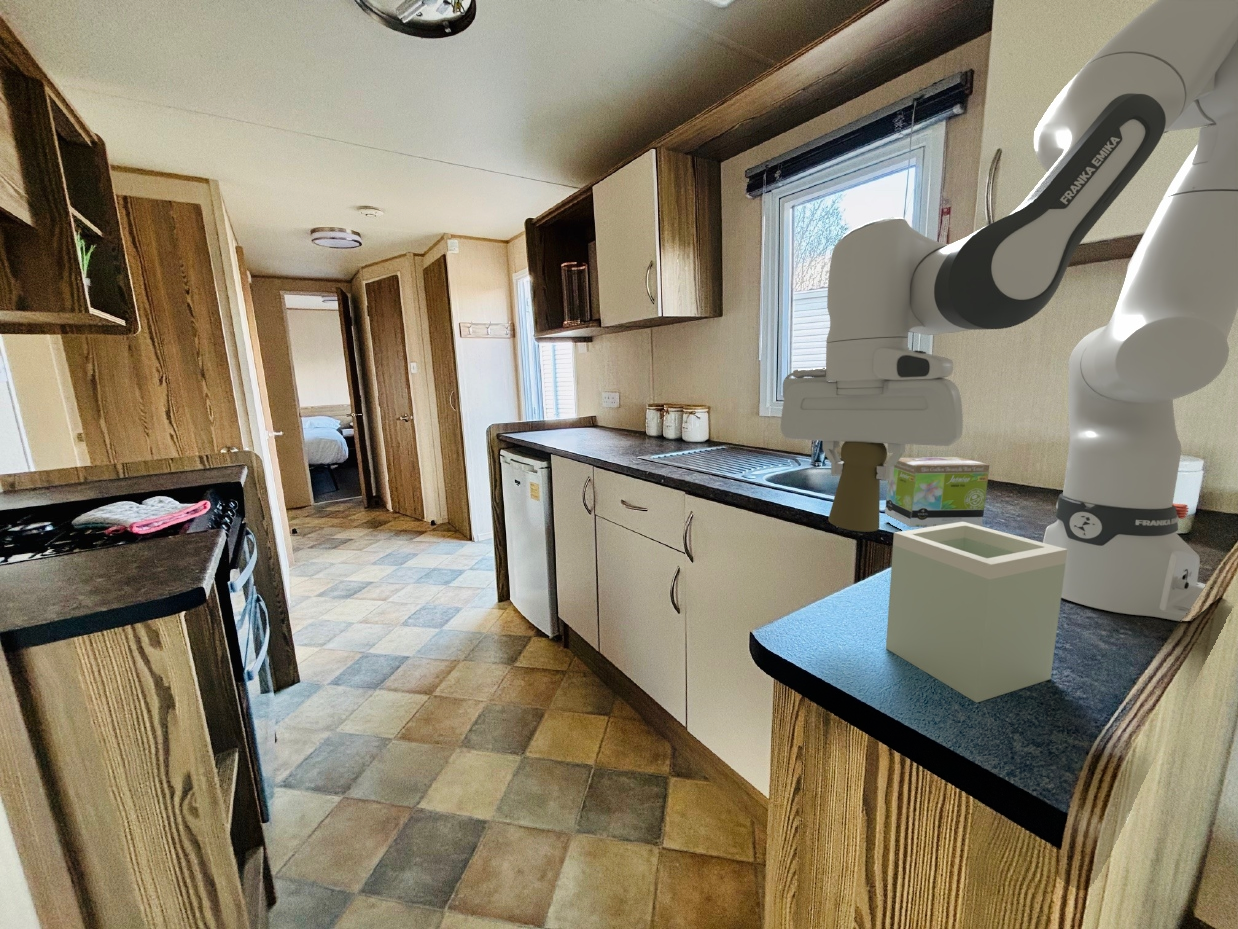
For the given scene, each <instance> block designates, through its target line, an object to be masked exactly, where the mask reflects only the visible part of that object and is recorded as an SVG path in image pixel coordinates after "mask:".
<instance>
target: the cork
mask: <svg viewBox="0 0 1238 929" xmlns="http://www.w3.org/2000/svg"><path fill="white" fill-rule="evenodd" d="M840 448H841V449H840V459H841V461H843V462H844V466H843V470H842V474H841V477H840V476H839V481H838V484H837V487H836V491H835V494H834V498H833V502H832V505H831V508H830V512H829V515H828V522H829V523H830V524H832V525H833V526H834V527H838V528H841V529H843V530H844V529H845V530H849V531H855V532H863V533H864V532H865V533H866V532H867V533H869V532H876V531H878V530H879V529H880V498H881V497H880V496H881V495H880V482H881V480H877V478H876V475H877V474H878V473H877V466H881V465H883V464H886V463H885V462H886V460H887V458H888V457H887V456H888V448H887V447H886V445H885V443H866V442H843V443H842V446H841V447H840Z"/></svg>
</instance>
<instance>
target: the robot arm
mask: <svg viewBox="0 0 1238 929" xmlns="http://www.w3.org/2000/svg"><path fill="white" fill-rule="evenodd" d="M1197 128H1199V130H1198V131H1199V133H1198V141H1197V143H1196V146H1195V147H1194V148H1193V149H1192V151H1191V152H1190V153H1189V155H1188V156H1187V158H1186V159H1185V160H1184V162H1183V163H1182V165H1181V166H1180V168H1179V170H1178V171H1177V172H1176V174H1175V176H1174V178H1173V179H1172V181H1171V183H1170V184H1169V185H1168V188H1167V189H1166V191H1165V193H1164V195H1163V197H1162V199H1161V200H1160V203H1159V204H1158V206H1157V208H1156V211H1155V212H1154V214H1153V216H1152V218H1151V219H1150V221H1149V223H1148V225H1147V227H1146V229H1145V231H1144V233H1143V235H1142V237H1141V239H1140V241H1139V243H1138V244H1137V247H1136V249H1135V250H1134V252H1133V255H1132V257H1131V258H1130V261H1129V262H1128V265H1127V268H1126V276H1125V279H1124V283H1123V285H1122V289H1121V291H1120V294H1119V297H1118V300H1117V302H1116V306H1115V308H1114V311H1113V313H1112V316H1111V317H1110V319H1109V322H1108V323H1107V325H1104V326H1101V327H1098V328H1097V329H1094V330H1092V331H1091V332H1090V333H1088V334H1087V335H1085V336H1084V337H1083V338H1082V339H1081V340H1079V342H1078V343H1077V344H1076V346H1074V348H1073V350H1072V351H1071V354H1070V356H1069V359H1068V363H1067V365H1068V368H1067V369H1068V381H1067V382H1068V386H1067V388H1068V389H1067V392H1068V393H1067V405H1068V406H1067V408H1068V410H1067V412H1068V414H1067V415H1068V418H1067V419H1068V434H1069V436H1068V451H1067V459H1066V466H1065V475H1064V483H1063V490H1062V491H1063V492H1061V493H1060V494H1059V495H1058V500H1057V501H1056V505H1055V506H1056V511H1055V513H1056V514H1055V517H1056V518H1057V520H1056V521H1055V522H1054V523H1051V524H1049V525H1048V526H1047V527H1046V528H1045V533H1044V537H1043V540H1042V543H1046V544H1049V545H1053V546H1057V547H1061V548H1064V549H1068V550H1067V557H1066V565H1065V572H1064V580H1063V588H1062V595H1061V599H1063V600H1067V601H1071V602H1073V603H1076V604H1079V605H1084V606H1086V607H1090V608H1094V609H1098V610H1104V611H1108V612H1113V613H1118V614H1126V615H1135V616H1146V617H1155V618H1160V619H1167V620H1169V621H1170V620H1171V621H1176V622H1181V621H1180V620H1181V619H1182V618H1183V617H1184V616H1185V615H1186V613H1188V611H1189V610H1190V608H1191V607H1192V605H1193V604H1194V602H1195V601H1196V599H1197V597H1199V595H1200V593H1201V592H1202V591H1203V588H1204V587H1205V585H1206V584H1205V583H1202V582H1199V581H1198V578H1199V571H1200V570H1199V569H1200V563H1201V562H1200V561H1201V559H1200V555H1199V553H1197V552H1196V551H1195V550H1194V549H1193V548H1192V547H1191V546H1190V545H1189V544H1188V543H1187V542H1186V541H1184V539H1183V538H1182V537H1181V536H1179V534H1178V533H1176V532H1178V531H1179V525H1178V524H1179V523H1178V522H1179V520H1180V519H1182V520H1183V519H1186V518H1187V515H1188V514H1189V513H1188V512H1189V510H1190V509H1189V506H1188V504H1183V503H1182V504H1181V503H1173V502H1174V497H1175V492H1176V485H1177V480H1178V473H1179V467H1180V461H1181V456H1182V444H1181V441H1180V439H1179V437H1178V432H1177V426H1176V420H1175V411H1174V401H1173V400H1177V399H1179V398H1183V397H1186V396H1188V395H1190V394H1192V393H1195V392H1197V391H1199V390H1202V389H1203V388H1204V387H1206V386H1207V385H1209V384H1211V383H1212V382H1213V381H1214V380H1215V379H1217V378H1218V376H1219V375H1220V374H1221V373H1222V372H1223V370H1224V368H1225V366H1226V364H1227V362H1228V359H1229V354H1230V352H1229V351H1230V350H1229V349H1230V348H1229V343H1228V337H1229V334H1230V332H1231V329H1232V327H1233V323H1234V320H1235V317H1236V315H1237V312H1238V0H1156V1H1154V2H1153V3H1151V5H1148V7H1147V8H1146V9H1144V10H1143V11H1141V13H1139V14H1138V15H1136V16H1135V17H1134V18H1133V19H1132V20H1131V21H1129V23H1127V24H1126V25H1125V26H1124V27H1122V29H1120V30H1119V31H1118V32H1117V33H1116V34H1115V35H1114V36H1113V37H1112V38H1111V39H1109V40H1108V42H1106V43H1105V44H1104V45H1103V46H1102V47H1101V48H1100V49H1099V50H1098V51H1097V52H1096V53H1094V54H1093V56H1092V57H1091V58H1090V59H1089V60H1088V61H1087V62H1086V63H1085V64H1084V65H1083V67H1081V69H1079V71H1078V72H1077V73H1076V74H1075V76H1074V77H1073V78H1072V79H1071V80H1070V81H1069V82H1068V83H1067V84H1066V85H1065V86H1064V87H1063V89H1062V90H1061V91H1060V93H1059V94H1058V95H1057V96H1056V97H1055V98H1054V100H1053V102H1051V104H1050V106H1049V107H1048V108H1047V110H1046V112H1045V113H1044V115H1043V117H1042V118H1041V120H1040V121H1039V122H1038V125H1037V127H1036V128H1035V130H1034V135H1033V148H1034V149H1033V150H1034V153H1035V156H1036V158H1037V160H1038V162H1039V163H1040V166H1041V167H1042V168H1043V169H1044V170H1045V171H1046V174H1045V175H1044V176H1043V178H1041V180H1040V181H1039V182H1038V183H1037V185H1036V186H1035V187H1034V188H1033V190H1031V192H1030V193H1029V194H1028V196H1027V197H1025V198H1024V200H1023V202H1021V204H1020V205H1019V206H1018V207H1017V208H1016V209H1015V210H1013V211H1012V212H1011V213H1010V214H1008V215H1007V216H1004V217H1003V218H1000V219H998V220H995V221H994V222H991V223H990V224H988V225H986V226H983V227H982V228H981V229H978V230H976V231H974V232H973V233H971V234H969V235H968V236H966V237H964V238H962V239H960V240H957V241H955V242H953V243H950V244H948V243H947V244H946V243H943V242H939V241H937V240H934V239H932V238H930V237H927V236H925V235H924V234H921V233H920V232H918V231H917V230H916V229H914V228H913V227H912V226H910V224H909V223H908V221H907V220H906V219H905V218H904V217H893V216H892V217H885V218H881V219H877V220H873V221H870V222H867V223H865V224H863V225H860V226H857V227H855V228H854V229H852V230H850V231H848V232H847V233H846V234H844V235H843V236H842V237H841V238H840V239H838V241H837V242H836V243H835V245H834V247H833V248H832V249H833V250H832V254H831V257H830V263H829V264H830V265H829V269H828V270H829V271H828V282H827V301H826V303H827V304H826V306H827V312H828V315H829V322H830V323H829V330H828V333H827V337H826V340H825V341H826V346H825V348H826V351H825V367H818V368H810V369H803V368H799V369H794V370H793V371H792V372H790V373H789V374H787V375H786V376H785V378H784V379H783V380H782V381H783V382H782V397H783V404H782V409H781V410H782V411H781V418H780V432H781V434H782V435H783V437H784V439H786V440H799V441H800V440H802V441H804V440H805V441H822V451H823V452H824V454H825V456H826V458H827V460H828V461H829V463H830V464H831V465H830V475H831V476H832V477H839V478H840V477H841V474H842V470H843V466H844V462H843V461H842V459H841V456H839V454H838V452H837V450H836V449H838V448H839V447H840V442H843V443H844V442H866V443H883V444H887V454H891V455H890V457H889V459H888V460H887V462H886V463H884V464H883V465H881V466H877V473H878V474H877V475H876V478H877V480H880V481H885V482H888V481H891V480H893V477H894V465H895V464H896V463H897V462H898V460H899V459H900V458H902V456H903V455H904V454H905V452H906V445H914V446H917V445H918V446H935V447H937V446H938V447H949V446H951V445H954V444H955V443H957V442H958V441H959V440H960V439H961V438H962V435H963V426H964V424H963V421H964V420H963V405H962V398H961V392H960V390H959V387H958V386H957V384H956V383H955V382H954V381H952V380H951V379H949V378H948V377H949V376H951V375H952V374H953V371H954V362H953V360H952V359H950V358H949V357H945V356H940V355H934V354H930V353H927V351H923V350H911V349H910V348H909V347H908V346H909V333H915V334H919V335H925V336H937V335H944V334H955V333H960V332H967V331H972V330H973V331H977V330H1003V329H1008V328H1012V327H1015V326H1018V325H1020V324H1023V323H1025V322H1027V321H1028V320H1030V319H1031V318H1033V317H1034V316H1036V315H1037V314H1039V312H1041V311H1042V310H1043V309H1044V308H1045V307H1046V306H1047V304H1049V302H1050V301H1051V299H1052V298H1053V297H1054V295H1055V294H1056V292H1057V290H1058V288H1059V286H1060V285H1061V282H1062V279H1063V278H1064V276H1065V274H1066V272H1067V269H1068V266H1069V264H1070V262H1071V259H1072V258H1073V256H1074V254H1075V252H1076V250H1077V249H1078V247H1079V246H1080V244H1081V243H1082V241H1083V240H1084V238H1085V237H1086V236H1087V234H1088V233H1089V232H1090V231H1091V230H1092V229H1093V227H1095V224H1097V222H1098V221H1099V220H1100V219H1101V217H1102V216H1103V215H1104V213H1105V212H1106V211H1107V210H1108V209H1109V208H1110V207H1111V206H1112V203H1114V201H1115V200H1116V199H1117V198H1118V197H1119V195H1120V194H1121V193H1122V192H1123V191H1124V189H1125V188H1126V187H1127V185H1129V183H1130V182H1131V181H1132V180H1133V178H1134V177H1135V176H1136V174H1138V172H1139V170H1140V169H1141V168H1142V167H1143V166H1144V164H1145V163H1146V162H1147V160H1148V159H1149V158H1150V157H1151V155H1152V153H1153V152H1154V150H1155V149H1156V147H1157V146H1158V144H1159V143H1160V141H1161V139H1162V137H1163V135H1164V134H1165V133H1166V134H1167V133H1168V132H1170V131H1171V132H1172V131H1181V130H1191V129H1197Z"/></svg>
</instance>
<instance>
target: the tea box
mask: <svg viewBox="0 0 1238 929" xmlns="http://www.w3.org/2000/svg"><path fill="white" fill-rule="evenodd" d="M989 472H990V463H989V464H988V463H985V462H984V463H983V462H981V461H976V460H971V459H969V458H968V459H967V458H964V457H958V456H947V457H945V456H937V457H936V456H935V457H934V456H932V457H930V456H929V457H927V456H923V457H901V458H900V459H899V460H898V462H897V463H896V464H895V465H894V477H893V480H891V481H887V487H886V488H887V490H886V498H885V511H884V515H885V514H887V515H888V516H890V517H892V518H894V519H896V520H898V521H900V522H902V523H904V524H906V525H907V526H909V527H923V528H924V527H932V526H938V525H944V524H951V523H957V522H967V523H970V524H974V525H978V526H982V527H983V521H984V514H985V505H986V498H987V497H986V496H987V490H988V489H987V487H988V481H989Z"/></svg>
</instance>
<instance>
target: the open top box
mask: <svg viewBox="0 0 1238 929" xmlns="http://www.w3.org/2000/svg"><path fill="white" fill-rule="evenodd" d="M892 541H893V542H892V552H891V554H892V556H891V569H890V570H891V571H890V581H889V583H890V585H889V586H890V587H889V596H888V610H887V611H888V612H887V613H888V614H887V626H886V628H887V629H886V639H885V649H886V650H888V651H890V652H892V653H893V654H895V655H896V656H898V657H900V658H901V659H903V660H905V661H906V662H908V663H910V664H912V665H914V667H916V668H917V669H920V670H921V671H923V672H925V673H926V674H928V675H929V676H930V677H933V678H935V679H936V680H938V681H940V682H941V683H943V684H944V685H946V686H949V688H952V689H953V690H955V691H956V692H957V693H960V694H961V695H963V696H965V697H966V698H968V699H969V700H971V701H973V702H974V703H976V704H977V703H980V702H983V701H987V700H989V699H992V698H996V697H998V696H1002V695H1005V694H1008V693H1011V692H1014V691H1017V690H1022V689H1025V688H1028V687H1030V686H1033V685H1037V684H1039V683H1042V682H1046V681H1048V680H1051V678H1052V671H1053V663H1054V656H1055V655H1054V654H1055V647H1056V640H1057V634H1058V633H1057V632H1058V624H1059V617H1060V610H1061V601H1062V598H1061V595H1062V588H1063V580H1064V572H1065V565H1066V557H1067V550H1068V549H1064V548H1061V547H1057V546H1053V545H1049V544H1046V543H1043V541H1037V540H1035V539H1029V538H1026V537H1023V536H1019V535H1015V534H1012V533H1008V532H1004V531H1000V530H996V529H993V528H988V527H985V526H983V525H982V526H978V525H974V524H970V523H967V522H957V523H951V524H944V525H938V526H932V527H925V528H919V529H913V530H906V531H901V530H899V531H896V532H893V540H892Z"/></svg>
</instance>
